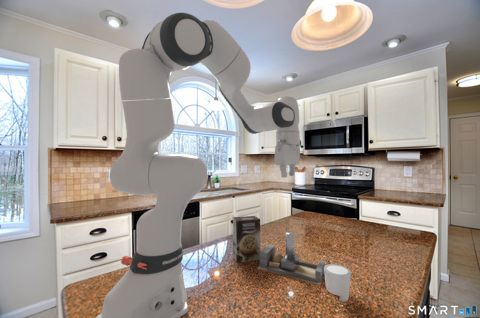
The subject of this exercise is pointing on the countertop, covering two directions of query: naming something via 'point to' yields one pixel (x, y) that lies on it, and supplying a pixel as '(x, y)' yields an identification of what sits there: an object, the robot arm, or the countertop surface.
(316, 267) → the grey holder tray
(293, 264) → the ram
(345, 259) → the countertop surface
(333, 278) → the shot glass
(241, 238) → the coffee box
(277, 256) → the walnut
